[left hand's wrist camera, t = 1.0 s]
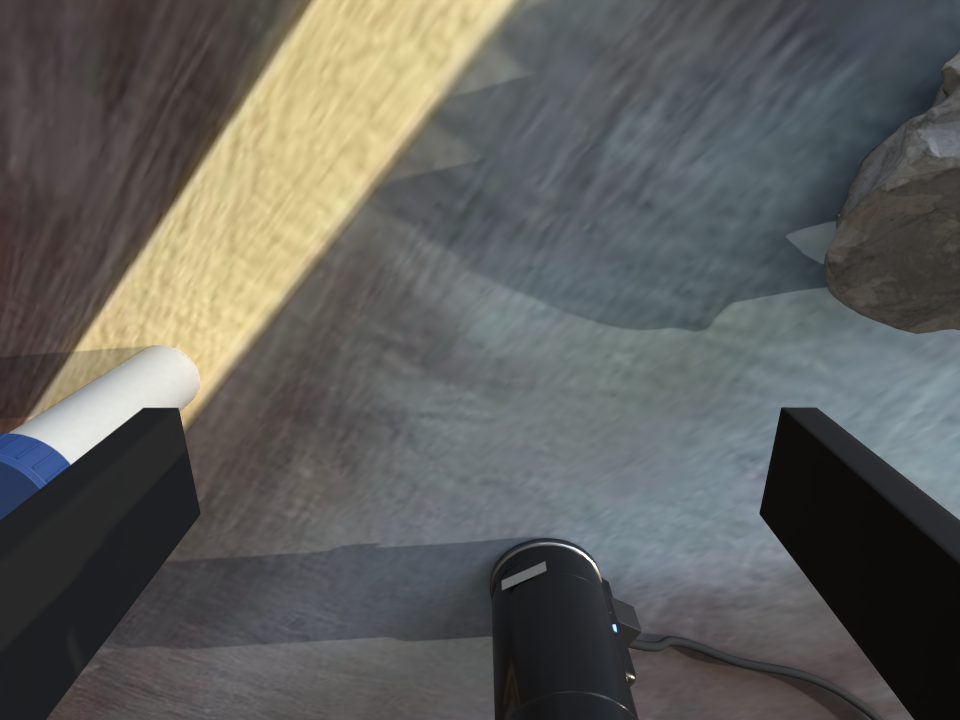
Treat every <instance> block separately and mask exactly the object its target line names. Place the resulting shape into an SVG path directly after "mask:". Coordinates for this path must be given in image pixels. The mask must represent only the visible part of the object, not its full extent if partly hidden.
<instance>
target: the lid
mask: <svg viewBox="0 0 960 720" xmlns="http://www.w3.org/2000/svg"><path fill="white" fill-rule="evenodd" d="M70 465H71V464H70V463H69V462H68V461H67V460H66V459H65V457H64V456H63V455H61V454H60V453H59V452H58V451H57V450H55V449H54V448H52V447H51V446H49V445H48V444H46V443H44V442H42V441H40V440H38V439H35V438H32V437H29V436H25V435H21V434H10V433H4V434H0V520H1V519H3V518H4V517H5V516H6V515H8V514H9V513H10V512H11V511H13V510H14V509H15V508H17V507H18V506H19V505H20V504H22V503H23V502H24V501H25V500H27V499H28V498H29V497H31V496H32V495H33V494H34V493H36V492H37V491H38V490H39V489H41V488H42V487H43V486H45V485H46V484H47V483H48V482H50V481H51V480H52V479H53V478H55V477H56V476H57V475H58V474H60V473H61V472H62V471H64V470H65V469H66V468H67V467H69V466H70Z"/></svg>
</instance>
